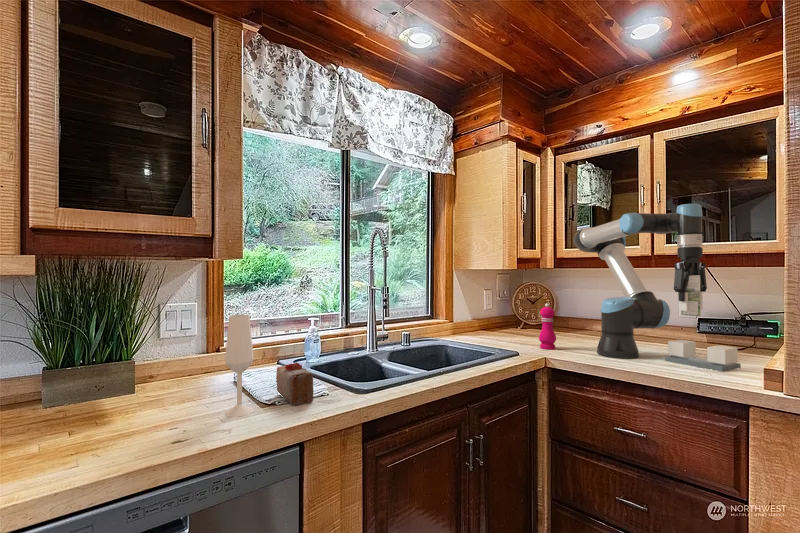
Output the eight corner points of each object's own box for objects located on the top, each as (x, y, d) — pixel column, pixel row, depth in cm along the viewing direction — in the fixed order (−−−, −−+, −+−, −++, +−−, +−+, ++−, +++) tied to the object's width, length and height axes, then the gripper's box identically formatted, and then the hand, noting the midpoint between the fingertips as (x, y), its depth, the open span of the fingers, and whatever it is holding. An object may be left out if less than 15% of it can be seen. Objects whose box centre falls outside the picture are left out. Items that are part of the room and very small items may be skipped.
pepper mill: (535, 348, 182) (535, 303, 182) (544, 346, 187) (543, 302, 187) (551, 350, 177) (550, 304, 177) (559, 348, 182) (558, 303, 182)
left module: (668, 354, 158) (668, 341, 158) (680, 352, 161) (680, 339, 161) (683, 356, 153) (683, 343, 153) (695, 354, 156) (695, 341, 156)
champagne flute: (221, 417, 98) (221, 317, 99) (228, 408, 105) (228, 314, 105) (251, 415, 100) (251, 316, 100) (255, 406, 106) (255, 314, 106)
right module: (707, 361, 146) (707, 347, 146) (719, 358, 149) (719, 345, 149) (725, 364, 141) (725, 349, 141) (737, 361, 144) (737, 347, 144)
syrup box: (700, 315, 149) (700, 275, 149) (700, 316, 144) (699, 275, 144) (681, 314, 152) (681, 275, 153) (680, 315, 148) (680, 275, 148)
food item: (272, 394, 117) (272, 360, 117) (299, 390, 121) (299, 356, 121) (289, 408, 105) (289, 369, 105) (318, 402, 110) (318, 365, 110)
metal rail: (670, 355, 158) (670, 353, 158) (678, 354, 161) (678, 352, 161) (727, 366, 141) (727, 363, 141) (735, 364, 144) (735, 362, 144)
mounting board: (665, 360, 157) (665, 356, 157) (683, 357, 162) (683, 353, 162) (722, 371, 140) (722, 367, 140) (740, 367, 145) (740, 363, 145)
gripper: (682, 245, 141) (683, 312, 141) (718, 246, 149) (719, 309, 149) (660, 246, 148) (661, 310, 148) (696, 248, 156) (697, 308, 156)
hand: (690, 309), depth 148 cm, fingers closed on syrup box, 7 cm apart
